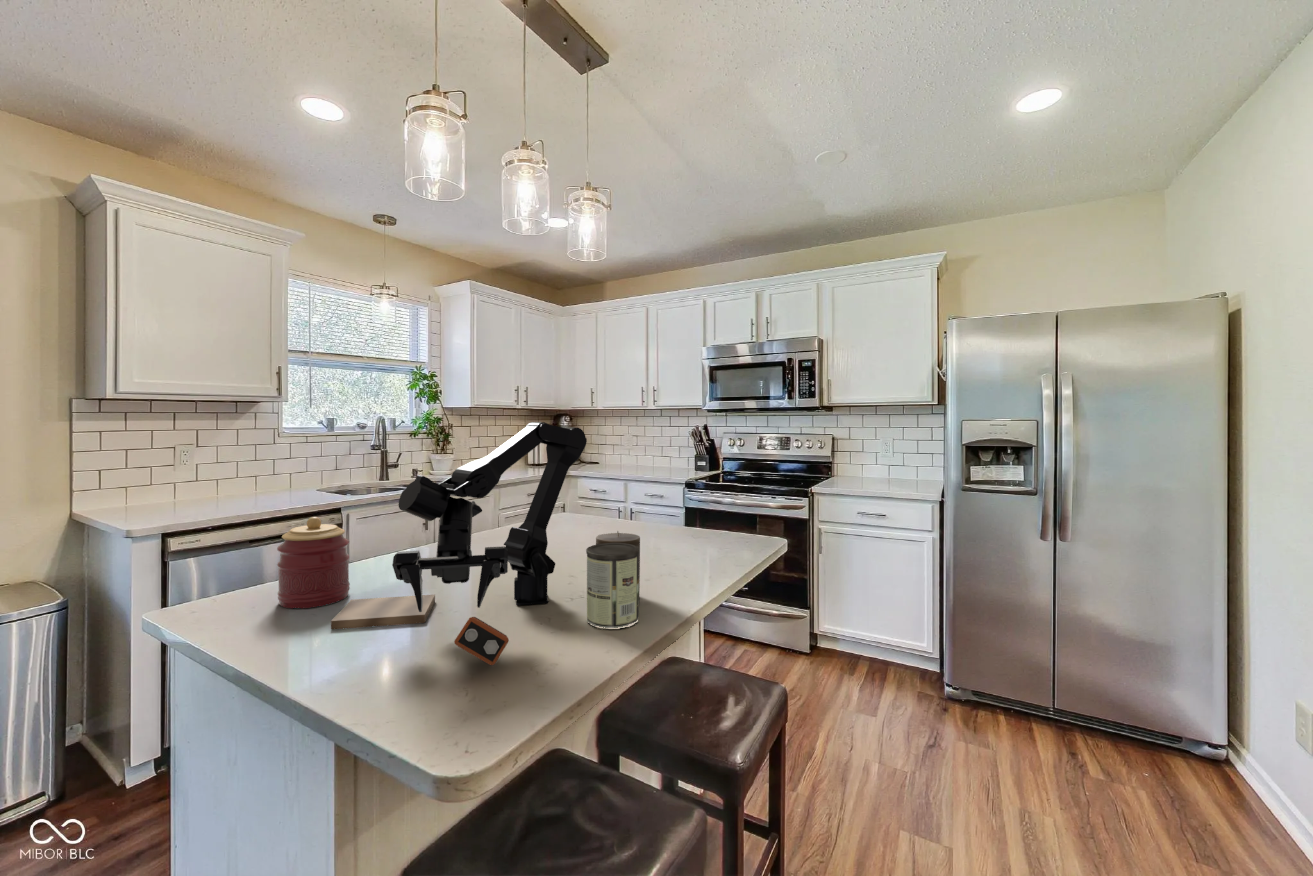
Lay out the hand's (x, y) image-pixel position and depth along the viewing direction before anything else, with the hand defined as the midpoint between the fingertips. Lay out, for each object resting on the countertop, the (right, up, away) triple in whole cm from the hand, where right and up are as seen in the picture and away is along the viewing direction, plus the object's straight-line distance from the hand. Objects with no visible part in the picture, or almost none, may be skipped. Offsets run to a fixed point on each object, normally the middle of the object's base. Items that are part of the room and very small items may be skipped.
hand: (449, 608), depth 91 cm
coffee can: (+26, -7, +15) cm, 31 cm away
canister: (-38, -6, +25) cm, 46 cm away
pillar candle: (+26, -7, +27) cm, 38 cm away
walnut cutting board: (-19, -6, +16) cm, 25 cm away
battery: (+6, -4, -3) cm, 8 cm away
